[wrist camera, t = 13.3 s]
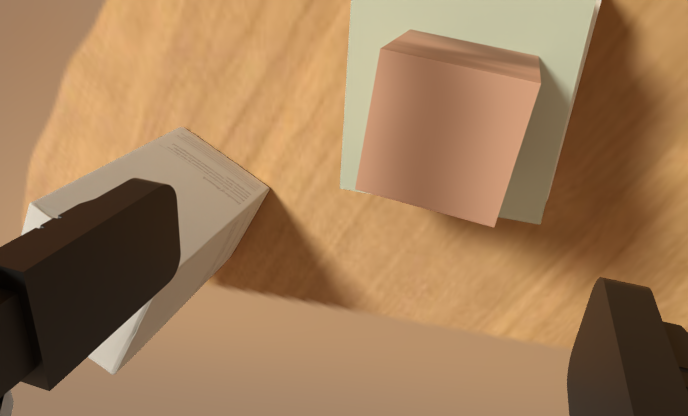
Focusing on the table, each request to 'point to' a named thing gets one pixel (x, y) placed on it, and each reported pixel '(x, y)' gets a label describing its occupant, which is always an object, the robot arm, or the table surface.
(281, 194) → the table surface
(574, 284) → the table surface
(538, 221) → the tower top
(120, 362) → the supplement box
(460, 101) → the terracotta cube
